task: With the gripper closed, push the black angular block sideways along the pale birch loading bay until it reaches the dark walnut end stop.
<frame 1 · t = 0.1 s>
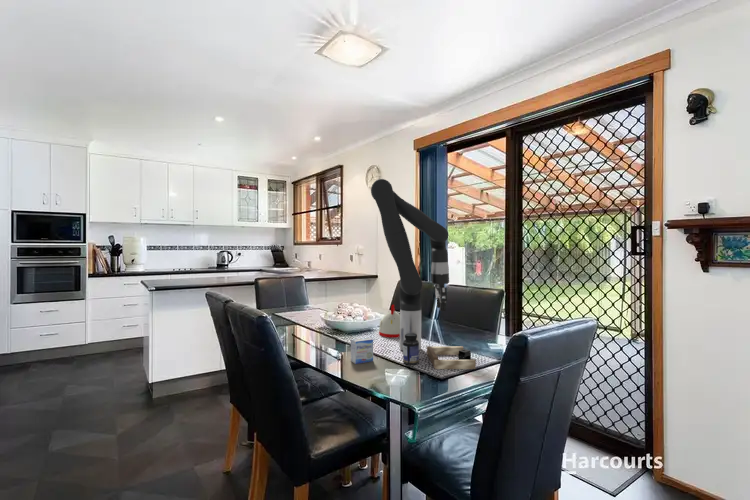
hand: (441, 309, 165), 17 cm above the table, tool pointing down, fingers open, 8 cm apart
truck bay: (449, 360, 149), on the table
medicine box: (361, 361, 148), on the table
pill bottle: (410, 363, 146), on the table
black angular block: (464, 362, 149), on the table
kitchen timer: (392, 334, 191), on the table
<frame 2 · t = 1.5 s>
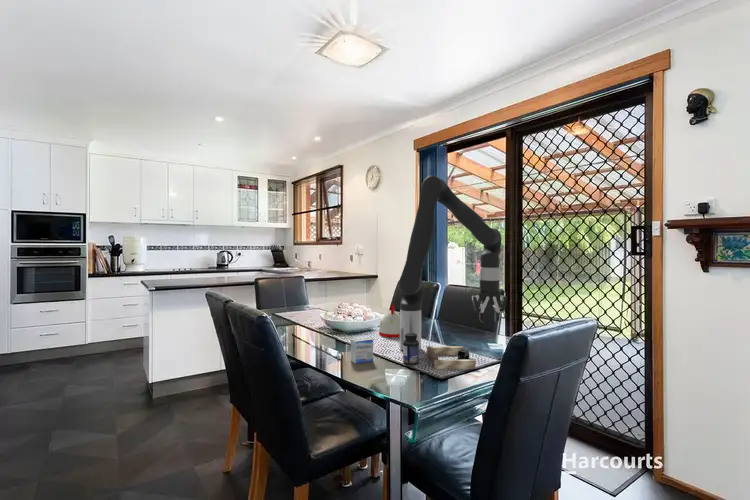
hand: (489, 321, 149), 15 cm above the table, tool pointing down, fingers open, 5 cm apart
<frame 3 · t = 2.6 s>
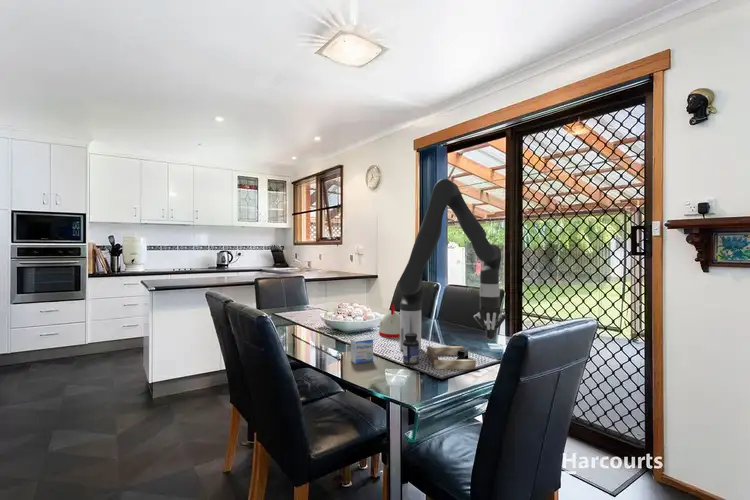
hand: (489, 338, 149), 9 cm above the table, tool pointing down, fingers closed
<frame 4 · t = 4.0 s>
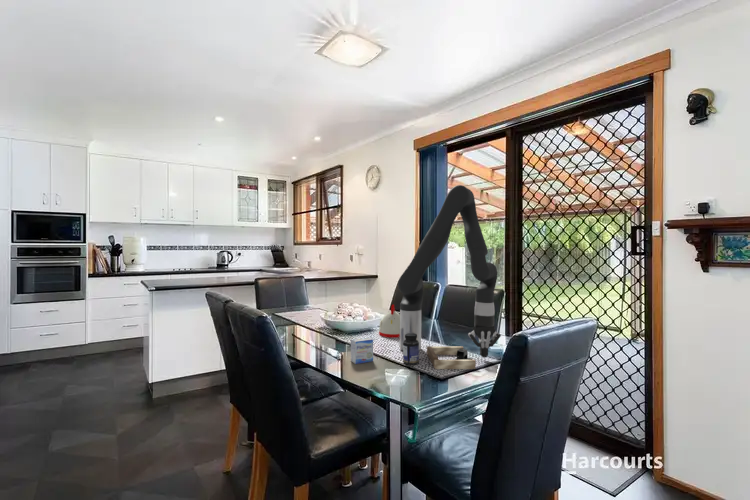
hand: (483, 356, 149), 1 cm above the table, tool pointing down, fingers closed
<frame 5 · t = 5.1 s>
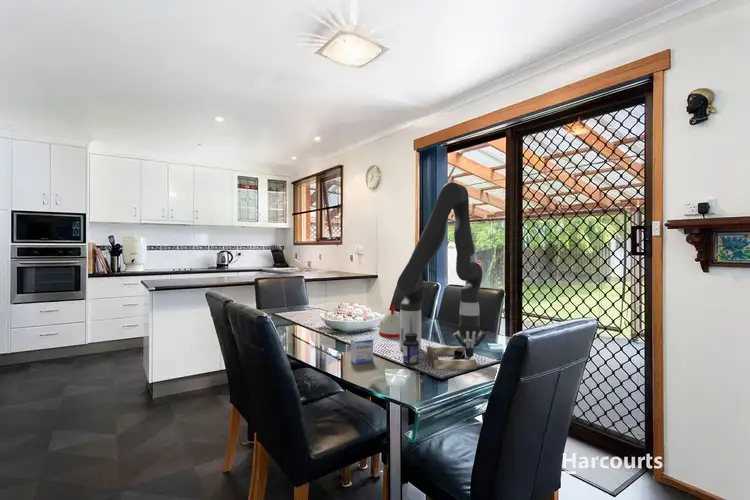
hand: (469, 356, 149), 2 cm above the table, tool pointing down, fingers closed
black angular block: (459, 361, 150), on the table, touching gripper
everything else where it was.
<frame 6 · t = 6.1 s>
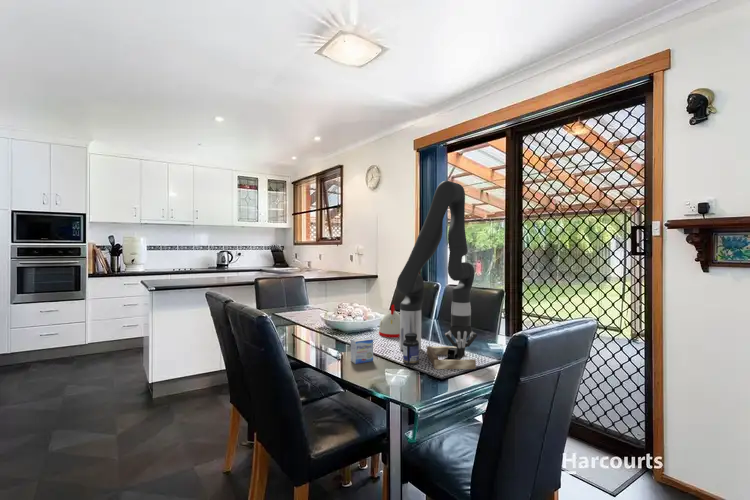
hand: (460, 356, 149), 2 cm above the table, tool pointing down, fingers closed
black angular block: (453, 360, 152), on the table
everything else where it was.
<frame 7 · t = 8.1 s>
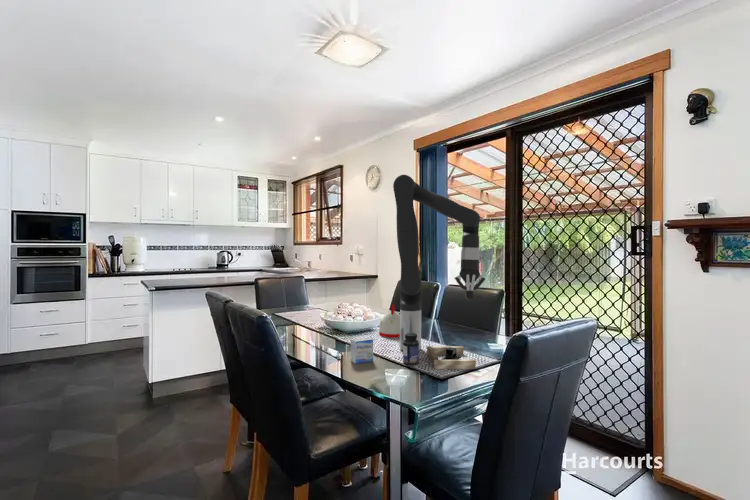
hand: (469, 299, 159), 23 cm above the table, tool pointing down, fingers closed
nothing on the table moved.
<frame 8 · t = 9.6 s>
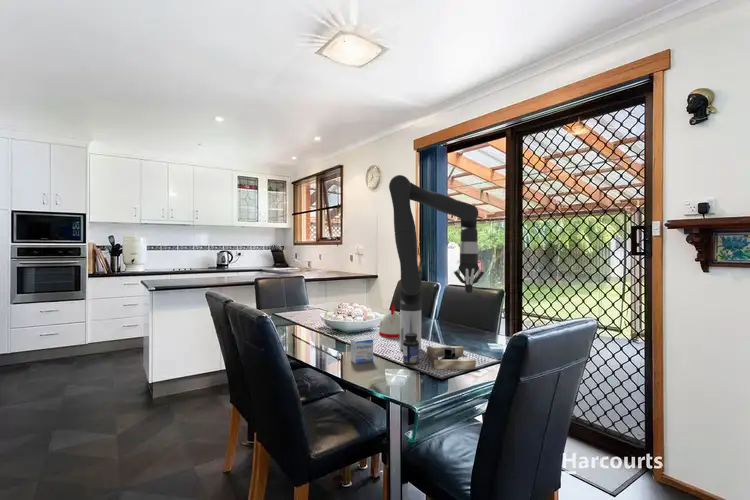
hand: (468, 293, 160), 25 cm above the table, tool pointing down, fingers closed
at the end: black angular block 4.2 cm from the target spot, on the table; black angular block tilted 0°; black angular block moved 6.2 cm from its start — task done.
